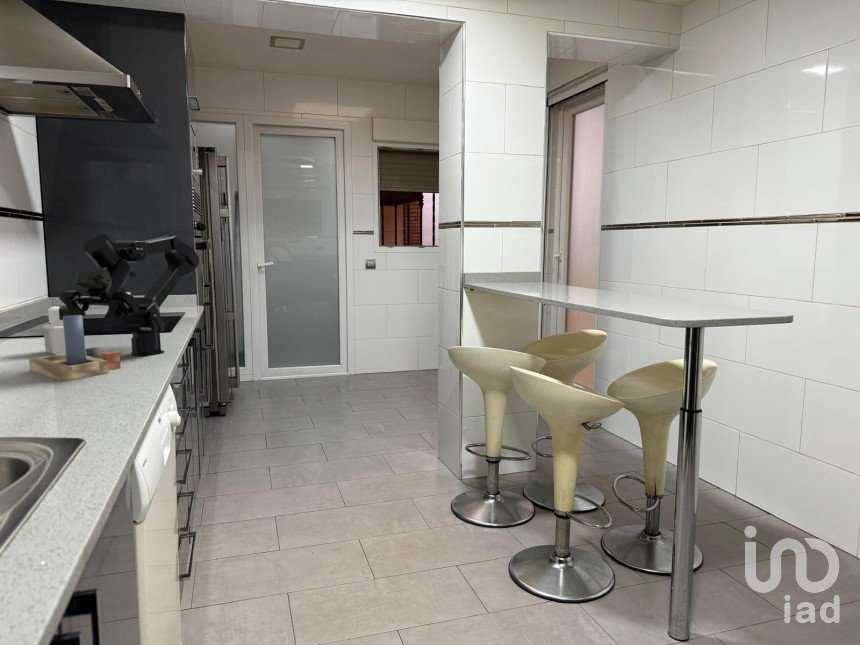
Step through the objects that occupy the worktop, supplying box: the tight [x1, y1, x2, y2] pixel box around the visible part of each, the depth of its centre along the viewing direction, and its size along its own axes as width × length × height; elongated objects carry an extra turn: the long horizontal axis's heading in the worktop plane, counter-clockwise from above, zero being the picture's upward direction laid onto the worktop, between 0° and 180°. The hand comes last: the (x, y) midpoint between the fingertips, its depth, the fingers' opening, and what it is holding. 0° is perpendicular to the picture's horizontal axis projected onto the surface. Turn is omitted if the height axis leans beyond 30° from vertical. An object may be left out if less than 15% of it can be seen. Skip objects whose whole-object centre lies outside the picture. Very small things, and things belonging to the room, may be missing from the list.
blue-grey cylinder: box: [63, 315, 86, 366], centre depth 143 cm, size 4×4×14 cm
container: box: [42, 305, 68, 355], centre depth 172 cm, size 8×8×13 cm
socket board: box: [28, 347, 122, 382], centre depth 148 cm, size 14×18×4 cm
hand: (84, 329), depth 146 cm, fingers open, 9 cm apart
